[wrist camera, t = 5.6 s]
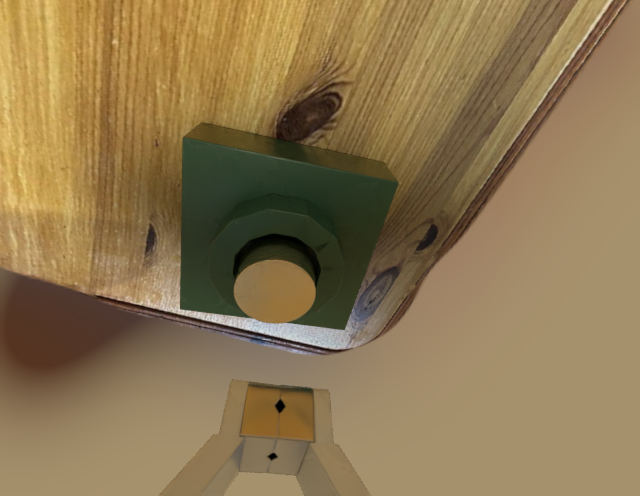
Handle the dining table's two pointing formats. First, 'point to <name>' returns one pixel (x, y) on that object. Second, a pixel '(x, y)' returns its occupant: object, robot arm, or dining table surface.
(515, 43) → the dining table surface
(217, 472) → the robot arm
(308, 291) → the gold push button
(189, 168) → the green button box
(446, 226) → the dining table surface
